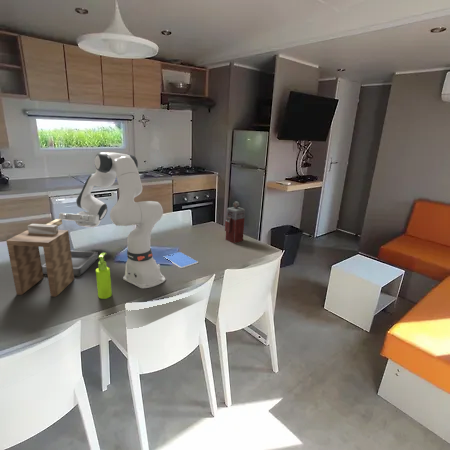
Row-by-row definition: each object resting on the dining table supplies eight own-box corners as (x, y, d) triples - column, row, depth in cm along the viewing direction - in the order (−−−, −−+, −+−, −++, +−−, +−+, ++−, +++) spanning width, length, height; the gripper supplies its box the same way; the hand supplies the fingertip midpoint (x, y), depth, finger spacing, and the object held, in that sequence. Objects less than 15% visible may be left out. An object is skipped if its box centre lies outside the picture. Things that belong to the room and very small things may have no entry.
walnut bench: (38, 277, 150) (30, 228, 142) (74, 279, 150) (68, 230, 142) (16, 294, 135) (6, 240, 127) (56, 296, 135) (48, 242, 127)
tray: (64, 256, 175) (63, 250, 174) (98, 258, 175) (97, 251, 174) (41, 273, 154) (40, 266, 153) (80, 275, 154) (79, 268, 153)
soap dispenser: (114, 290, 142) (111, 251, 136) (109, 298, 135) (106, 258, 129) (101, 290, 141) (98, 251, 135) (96, 298, 135) (92, 257, 129)
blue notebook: (162, 258, 180) (162, 256, 180) (180, 253, 189) (180, 251, 188) (180, 269, 167) (180, 267, 167) (198, 263, 175) (198, 261, 175)
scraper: (48, 223, 151) (47, 216, 150) (71, 224, 151) (70, 217, 150) (28, 233, 137) (27, 225, 136) (54, 234, 136) (53, 227, 135)
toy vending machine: (222, 240, 212) (224, 201, 203) (234, 237, 219) (236, 199, 210) (231, 244, 205) (233, 204, 197) (243, 240, 213) (245, 202, 204)
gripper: (66, 212, 176) (53, 209, 162) (101, 215, 176) (92, 212, 162) (65, 222, 175) (52, 220, 161) (100, 225, 176) (90, 223, 162)
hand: (72, 216), depth 162 cm, fingers open, 8 cm apart
